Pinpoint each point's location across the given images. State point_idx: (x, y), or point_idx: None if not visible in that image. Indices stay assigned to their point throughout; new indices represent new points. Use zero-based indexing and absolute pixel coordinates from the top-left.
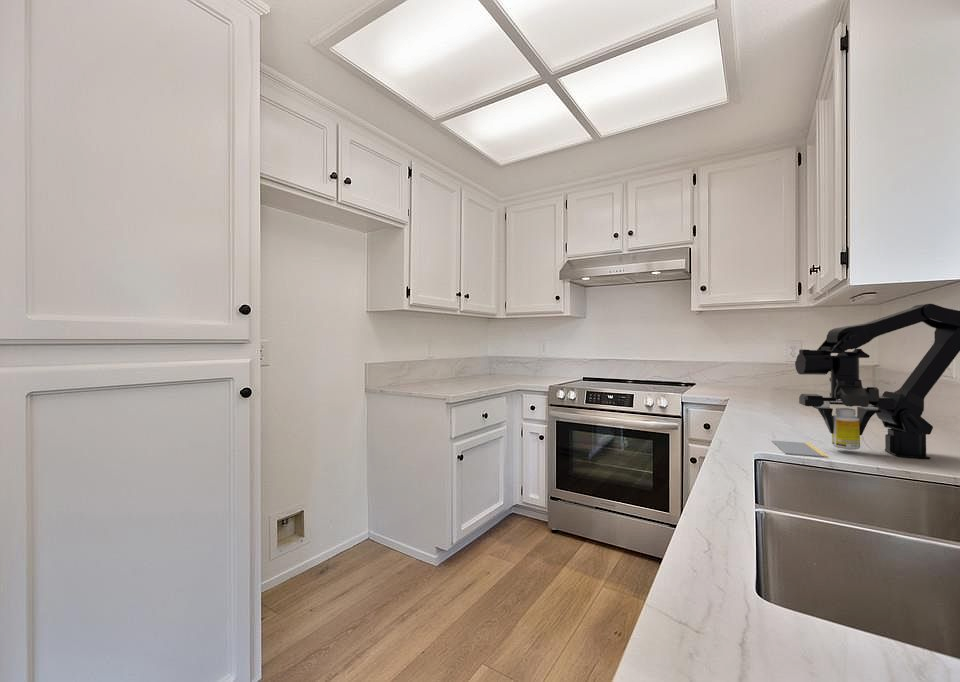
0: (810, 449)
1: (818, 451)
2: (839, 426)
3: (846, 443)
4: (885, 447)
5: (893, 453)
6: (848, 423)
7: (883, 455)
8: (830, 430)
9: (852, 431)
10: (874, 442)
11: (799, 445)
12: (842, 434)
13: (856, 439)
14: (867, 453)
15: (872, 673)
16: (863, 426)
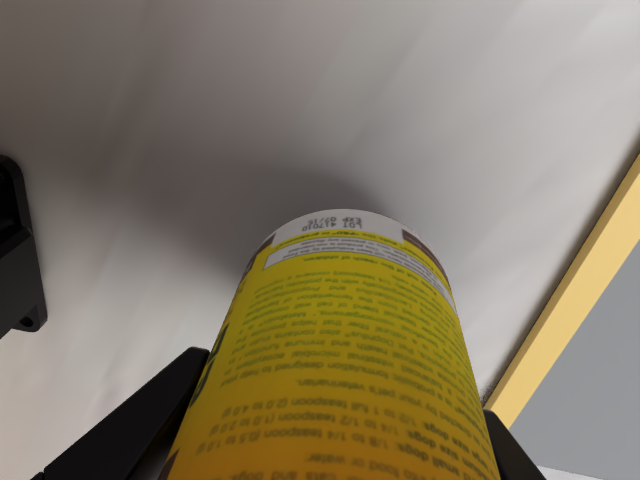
0: (631, 290)
1: (636, 219)
2: (487, 452)
3: (402, 245)
4: (33, 304)
5: (21, 210)
6: (395, 469)
7: (104, 198)
8: (514, 442)
9: (337, 334)
10: None
11: (599, 395)
12: (441, 333)
13: (297, 263)
14: (197, 246)
15: None
16: (124, 431)
